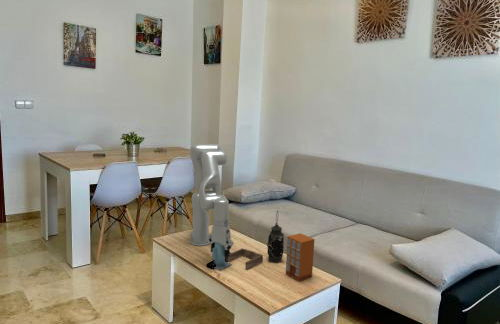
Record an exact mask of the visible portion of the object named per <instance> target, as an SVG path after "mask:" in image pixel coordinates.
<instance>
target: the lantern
mask: <svg viewBox="0 0 500 324" xmlns="http://www.w3.org/2000/svg"><path fill="white" fill-rule="evenodd" d="M278 213H279V210H277V211H276V214H275V216H276V217H275V220H276V222H275V223H274V224H275V225H274V226H271V227H270V229H271V231H270V232H269V233H268V234H269V235H268V239H267V245H266V247H267V253H266V254H267V255H268V258H267V261H269V262H270V263H281V262H282V258H283V256H284V245H285V243H284V241H285V240H284V238H285V237H284V236H285V234H284V233H283V232H282V230H283V228H282V227H281V226H279V224H278V220H279V218H278Z"/></svg>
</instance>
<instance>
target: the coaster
mask: <svg viewBox="0 0 500 324" xmlns="http://www.w3.org/2000/svg"><path fill="white" fill-rule="evenodd" d="M231 266H233V263H231V262H229V263H228V262H226V261H225V265H224V266H216V267H214V268H213V269H215V270H217V269H218V271H222V269H223V270H224V269H225V270H226V269H227V268H229V267H231Z"/></svg>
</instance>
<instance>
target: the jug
mask: <svg viewBox="0 0 500 324" xmlns="http://www.w3.org/2000/svg"><path fill="white" fill-rule="evenodd" d="M225 250H226V249H225V247H224V246H223V245H220V244H218V243H215V248H213V252H212V256H211V258H212V260H213V262H214V263H215V264H216V266H224V265H225V262H226V257H224V254H225Z"/></svg>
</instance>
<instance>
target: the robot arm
mask: <svg viewBox="0 0 500 324" xmlns="http://www.w3.org/2000/svg"><path fill="white" fill-rule="evenodd" d="M189 155H190V160H191V162H192V170H193V186H194V188H195V189H198V191H195V192H194V193H192V195H191V204H192V231H191V232H190V233H189V234H188V236H189V237H191V238H190V240H189V243H190V244H191V245H192V246H196V247H198V246H199V247H202V246H204V247H205V246H208V245H210V252H211V253H213V248H215V243H218V244H220V245H223V246H224V247H225V254H224V257H225V258H227V257H228V256H229V254H230V253H231V249H232V247H233V246H234V244H235V243H234V241H233V240H232V239H231V238H232V237H231V227H230V222H229V206H230V205H229V203H230V201H229V200H228V199H227V197H226V196H225V195H224V194H222V191H221V189H222V187H221V185H222V184H221V183H222V181H221V175H220V170H219V166H225V165H227V162H228V157H227V153H226V151H225V150H224V149H223V148H222V146H221V145H220V144H217V143H197V144H194V145H192V146H190V148H189ZM207 189H211V190H207ZM210 210H211V211H212V210H213V224H212V227H211V233H209V225H210V213H209V211H210Z"/></svg>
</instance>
